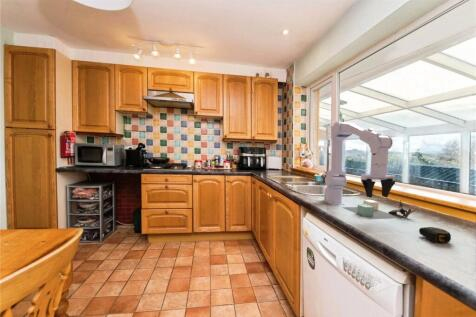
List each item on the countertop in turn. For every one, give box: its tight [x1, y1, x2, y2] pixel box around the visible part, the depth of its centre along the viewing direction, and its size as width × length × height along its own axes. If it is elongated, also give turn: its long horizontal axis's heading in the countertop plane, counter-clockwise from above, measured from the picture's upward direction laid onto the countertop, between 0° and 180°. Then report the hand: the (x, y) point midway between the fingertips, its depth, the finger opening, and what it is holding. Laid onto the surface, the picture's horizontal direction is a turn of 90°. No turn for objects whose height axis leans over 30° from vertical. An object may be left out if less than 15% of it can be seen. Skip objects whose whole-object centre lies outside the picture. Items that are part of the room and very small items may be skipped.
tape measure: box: [418, 226, 452, 244], centre depth 71 cm, size 7×7×4 cm
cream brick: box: [363, 199, 380, 210], centre depth 107 cm, size 4×4×4 cm
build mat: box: [341, 206, 401, 220], centre depth 101 cm, size 18×16×1 cm
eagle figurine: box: [387, 199, 417, 219], centre depth 98 cm, size 8×8×10 cm
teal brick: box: [356, 204, 374, 217], centre depth 97 cm, size 4×4×4 cm
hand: (377, 196), depth 90 cm, fingers open, 7 cm apart
